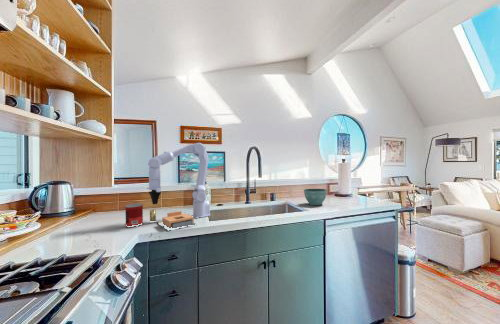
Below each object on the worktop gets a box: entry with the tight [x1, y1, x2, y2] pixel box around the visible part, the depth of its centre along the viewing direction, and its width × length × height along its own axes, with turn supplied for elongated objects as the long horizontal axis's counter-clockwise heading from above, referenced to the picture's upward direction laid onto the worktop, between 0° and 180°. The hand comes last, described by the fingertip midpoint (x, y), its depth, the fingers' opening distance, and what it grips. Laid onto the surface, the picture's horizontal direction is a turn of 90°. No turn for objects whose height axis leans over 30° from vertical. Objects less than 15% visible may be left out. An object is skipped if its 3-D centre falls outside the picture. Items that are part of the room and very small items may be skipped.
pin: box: [149, 208, 157, 222], centre depth 117 cm, size 3×3×7 cm
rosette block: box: [171, 218, 196, 228], centre depth 112 cm, size 14×18×3 cm
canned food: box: [125, 202, 144, 226], centre depth 111 cm, size 8×8×11 cm
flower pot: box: [303, 188, 327, 206], centre depth 157 cm, size 16×16×11 cm
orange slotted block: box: [161, 210, 195, 228], centre depth 109 cm, size 12×11×5 cm
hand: (155, 204), depth 117 cm, fingers closed
